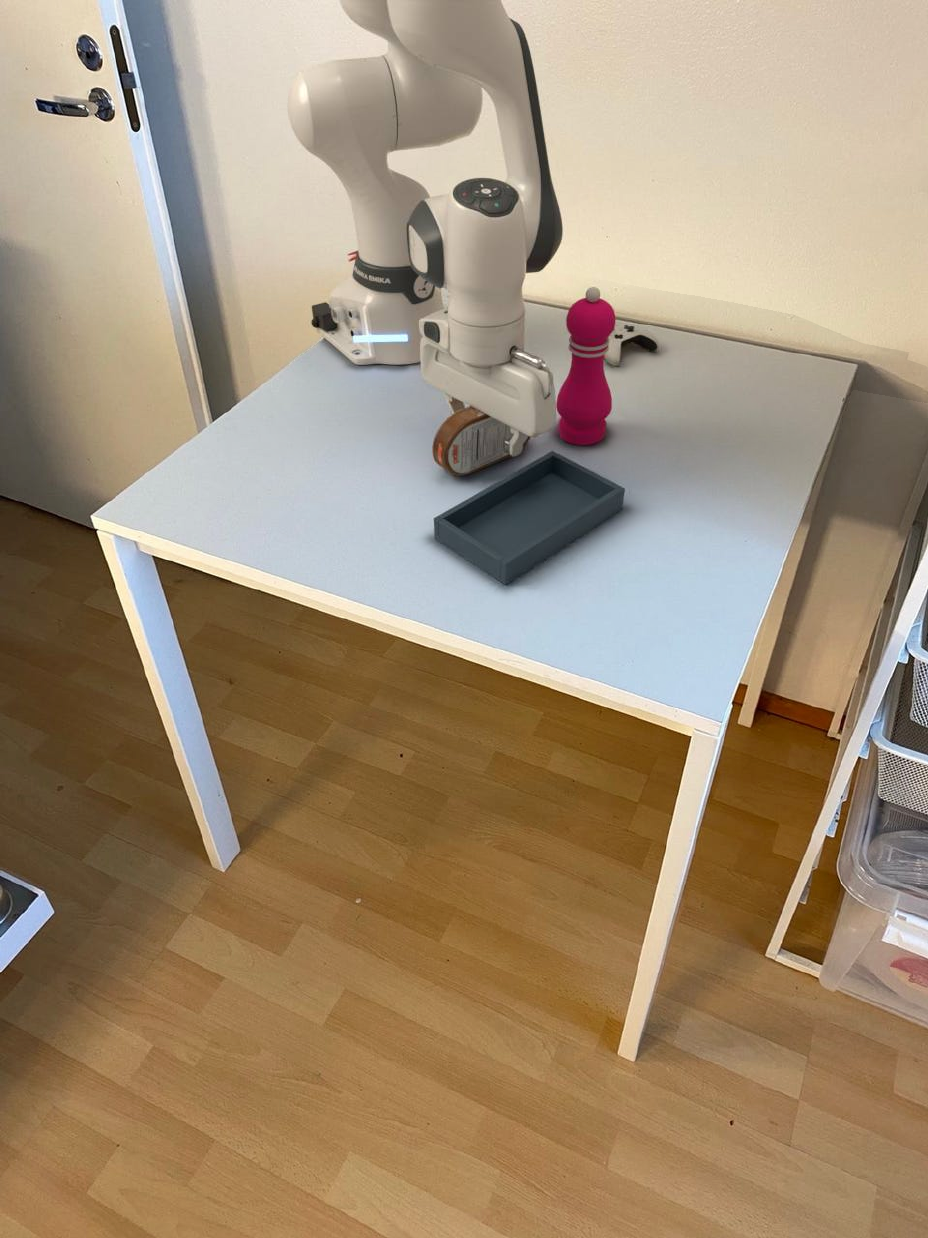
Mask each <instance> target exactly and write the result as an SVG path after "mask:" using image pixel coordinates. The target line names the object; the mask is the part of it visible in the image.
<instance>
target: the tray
mask: <svg viewBox="0 0 928 1238" xmlns="http://www.w3.org/2000/svg"><path fill="white" fill-rule="evenodd" d="M625 491H626V488H625V487H623V486H621V485H619V484H618V483H616V482H613V481H612V480H609V479H608V478H607V477H604V476H602V475H600V474H599V473H596V472H594V471H592V470H591V469H589V468H587V467H585V466H583V465H581V464H579V463H578V462H576V461H573V460H572V459H570V458H568V457H565V456H564V455H562V454H560V453H559V452H556V451H554V450H551V451H549V452H548V453H546V454H544V455H543V456H541V457H539V458H538V459H536V460H534V461H532V462H530V463H529V464H527V465H525V466H523V467H522V468H519V469H518V470H516V471H514V472H513V473H511V474H509V475H507V476H505V477H504V478H502V479H500V480H498V481H497V482H495V483H493V484H492V485H490V486H488V487H486V488H485V489H483V490H481V491H479V492H478V493H476V494H474V495H472V496H471V497H468V498H467V499H465V500H463V501H462V502H460V503H458V504H456V505H455V506H453V507H451V508H449V509H448V510H445V511H444V512H442V513H440V514H438V515H436V516H435V517H433V531H434V533H433V535H434V540H436V541H437V542H439V543H440V544H442V545H443V546H445V547H446V548H448V549H450V550H451V551H452V552H454V553H455V554H457V555H459V556H460V557H462V558H463V559H465V560H466V561H467V562H469V563H470V564H472V565H474V567H477V569H478V568H479V569H480V570H482V571H483V572H485V574H487V575H489V576H490V577H492V578H493V579H495V580H496V581H498V582H500V583H501V584H503V585H505V586H506V585H508V584H509V583H511V582H512V581H514V580H515V579H517V578H519V577H520V576H521V575H523V574H525V573H526V572H528V571H530V570H531V569H532V568H534V567H535V566H537V565H538V564H540V563H541V562H543V561H545V560H546V559H548V558H549V557H552V556H553V555H554V554H555V553H557V552H559V551H560V550H562V549H563V548H565V547H566V546H568V545H570V544H571V543H572V542H574V541H575V540H577V539H579V538H580V537H582V536H583V535H585V534H586V533H588V532H590V531H591V530H592V529H594V528H596V527H597V526H598V525H600V524H601V523H603V522H605V521H606V520H608V519H610V518H611V517H613V516H614V515H615V514H617V513H618V512H620V511H622V510H623V509H624V508H623V507H624V500H625V493H626V492H625Z"/></svg>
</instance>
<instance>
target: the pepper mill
mask: <svg viewBox="0 0 928 1238" xmlns="http://www.w3.org/2000/svg"><path fill="white" fill-rule="evenodd" d="M615 313H616V312H615V310H614V308H613V306H612V305H611V304H610V303H609V302H608V301H606V299H603V298H601V291H600V289H599V288H598V287H596V286H590V287H588V288H587V289H586V291H585V297H582V298H580V299H579V300H576V301H575V302H574V303H573V304H572V305H571V306H570V308H569V309H568V311H567V314H566V319H565V326H566V329H567V331H568V333H569V334H570V336H569V337H568V342H569V344H568V350H569V351H570V353H571V362H570V369H569V372H568V375H567V377H566V378H565V380H564V381H563V383H562V385H561V387H560V389H559V392H558V394H557V398H556V412H557V414H558V415H559V417H560V418H559V420H558V435H559V437H560V438H561V439H562V440H563V441H565V442H566V443H569V444H572V445H576V446H591V445H595V444H597V443H599V442H601V441H602V440H603V439H604V438H605V436H606V429H607V421H606V419H607V418H608V417H609V415H610V413H611V412H612V408H613V399H612V392H611V389H610V386H609V384H608V383H609V382H608V381H607V378H606V375H605V369H604V362H605V361H604V360H605V358H604V355H605V354H606V353H607V352H608V350H609V346H608V344H609V342H610V340H609V338H608V336H609V335H610V334H611V333H612V332H613V330H614V328H616V319H617V318H616V314H615Z"/></svg>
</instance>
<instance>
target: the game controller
mask: <svg viewBox="0 0 928 1238" xmlns="http://www.w3.org/2000/svg"><path fill="white" fill-rule="evenodd" d="M608 338H609V340H610V342H609V344H608V346H609V350H608V352H607V353H606V354H605V355H604V360H605V361H606V362H607V363H608V364H610V365H611V366H613V367H618V366H620V365H621V361H622V360H621V359H622V347H624V346H626V345H629V344H635V345H637V346H638V347H640V348H642V349H644V350H645V351H649V352H655V351H657V349H658V348H659V340H658V338H657V337H656V336H655V335H654V334H652V333H651V332H649V331H648V330H645V329H642V328H639V327H636V326H634V325H628V324H621V325H618V326H615V328H614V330H613V332H612V333H611V334H610V335H609V336H608Z"/></svg>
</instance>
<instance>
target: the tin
mask: <svg viewBox="0 0 928 1238" xmlns="http://www.w3.org/2000/svg"><path fill="white" fill-rule="evenodd" d="M510 428H511V427H510V426H508V425H506V424H504V423H502V422H500V421H498V420H496V419H495V418H493V417H491V416H489V415H487V414H485V413H483V412H481V411H479V410H477V409H475V408H473V407H471V406H467V407H465V408H464V409H462V410H459V411H457V412H455V413H454V414H452V413H451V415H449V416H448V417H447V418H446V419H445V420H444V421H443V423H441V425H440V426H439V427H438V430H437V431H436V432H435V436H434V437H433V438H434V439H433V442H432V447H431V448H432V451H431V453H432V457H433V459H434V461H435V463H436V464H437V465H438V466H439V467H440V468H443V470H445V471H447V472H448V473H449V474H450V475H453V476H457V477H464V476H467V475H471V474H473V473H475V472H477V471H480V470H482V469H484V468H486V467H489V466H491V465H494V464H497V463H499V462H501V461H504V460H506V459H508V458H510V457H513V456H512V455H510V454H508V453H506V452H505V451H504V448H505V446H504V441H505V440H507V439H510V438H511V437H513V435H514V434H513V433H511V432H510ZM531 438H532V437H530V436H528V435H527V436H526V438H525V439H524V440H523V448H525V447H526V445H527V444H528V442H530V440H531Z"/></svg>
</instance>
